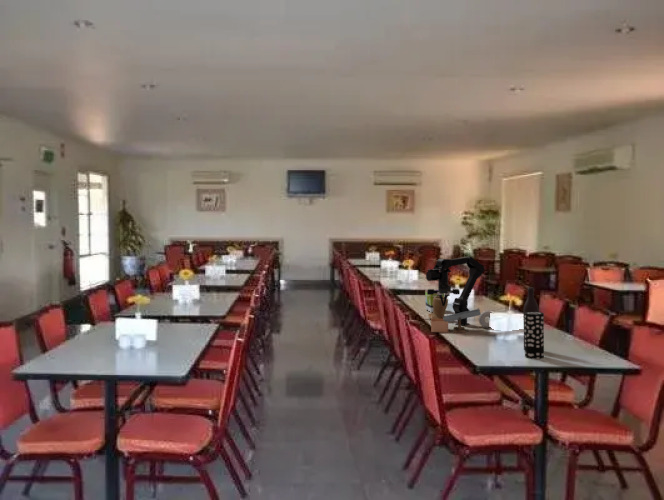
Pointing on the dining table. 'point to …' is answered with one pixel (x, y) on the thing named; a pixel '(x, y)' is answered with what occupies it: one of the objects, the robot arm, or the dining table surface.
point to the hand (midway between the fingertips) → (443, 306)
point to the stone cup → (438, 308)
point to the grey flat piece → (462, 315)
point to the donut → (482, 319)
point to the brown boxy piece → (439, 325)
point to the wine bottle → (530, 306)
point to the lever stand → (459, 327)
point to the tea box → (430, 300)
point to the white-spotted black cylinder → (534, 335)
